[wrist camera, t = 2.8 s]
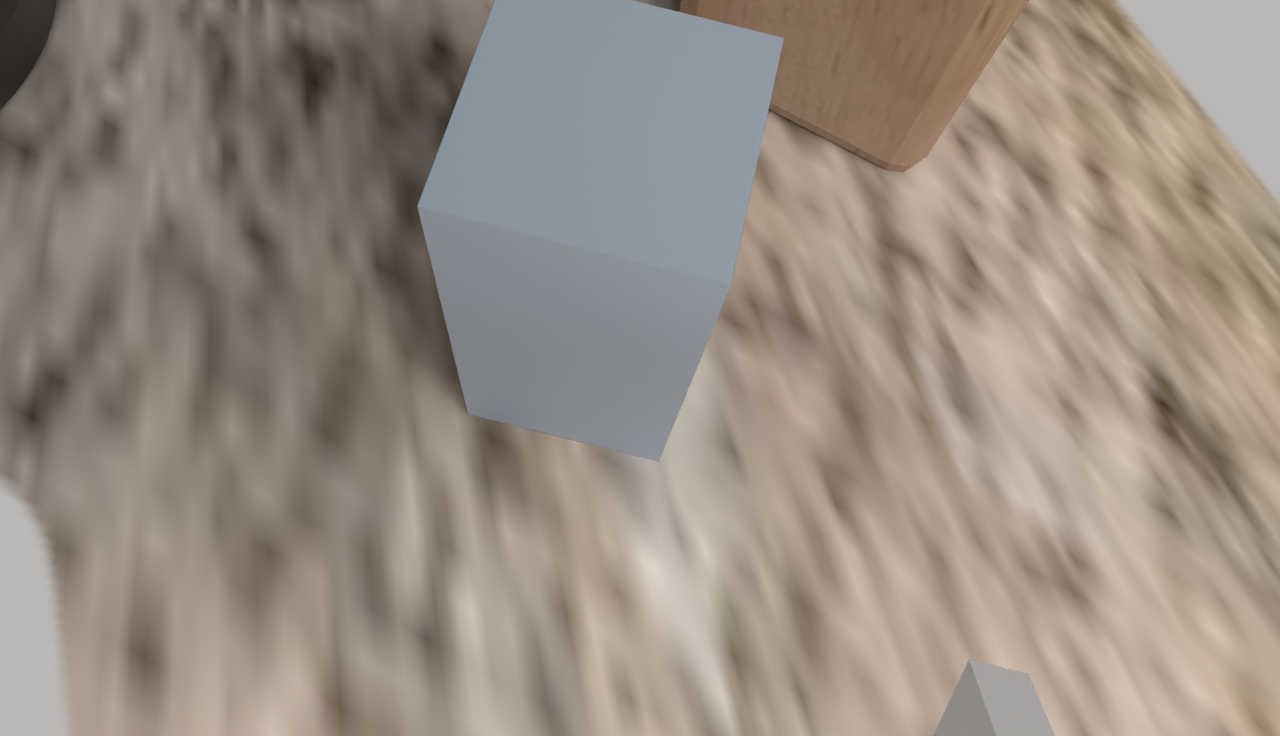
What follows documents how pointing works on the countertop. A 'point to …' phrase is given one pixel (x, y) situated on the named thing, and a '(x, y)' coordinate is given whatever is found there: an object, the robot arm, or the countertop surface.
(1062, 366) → the countertop surface
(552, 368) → the slate block
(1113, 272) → the countertop surface
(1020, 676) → the robot arm
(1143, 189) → the countertop surface
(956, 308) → the countertop surface
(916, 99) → the wooden block
